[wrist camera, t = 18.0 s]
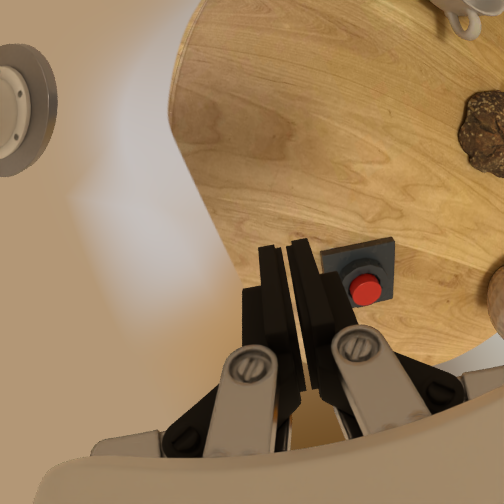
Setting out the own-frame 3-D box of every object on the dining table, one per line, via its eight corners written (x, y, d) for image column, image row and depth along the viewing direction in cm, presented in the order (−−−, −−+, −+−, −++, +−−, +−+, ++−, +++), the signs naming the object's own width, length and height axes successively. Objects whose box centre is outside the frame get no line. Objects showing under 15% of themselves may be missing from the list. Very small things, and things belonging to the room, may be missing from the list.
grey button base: (327, 307, 45) (330, 321, 42) (320, 251, 40) (324, 264, 37) (390, 293, 44) (396, 306, 41) (391, 236, 39) (400, 248, 36)
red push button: (349, 300, 41) (353, 308, 39) (348, 277, 39) (352, 285, 37) (377, 293, 40) (381, 302, 39) (377, 270, 38) (382, 278, 37)
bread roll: (523, 101, 27) (546, 108, 23) (510, 179, 33) (531, 192, 29) (462, 76, 27) (486, 80, 23) (451, 167, 33) (472, 181, 29)
